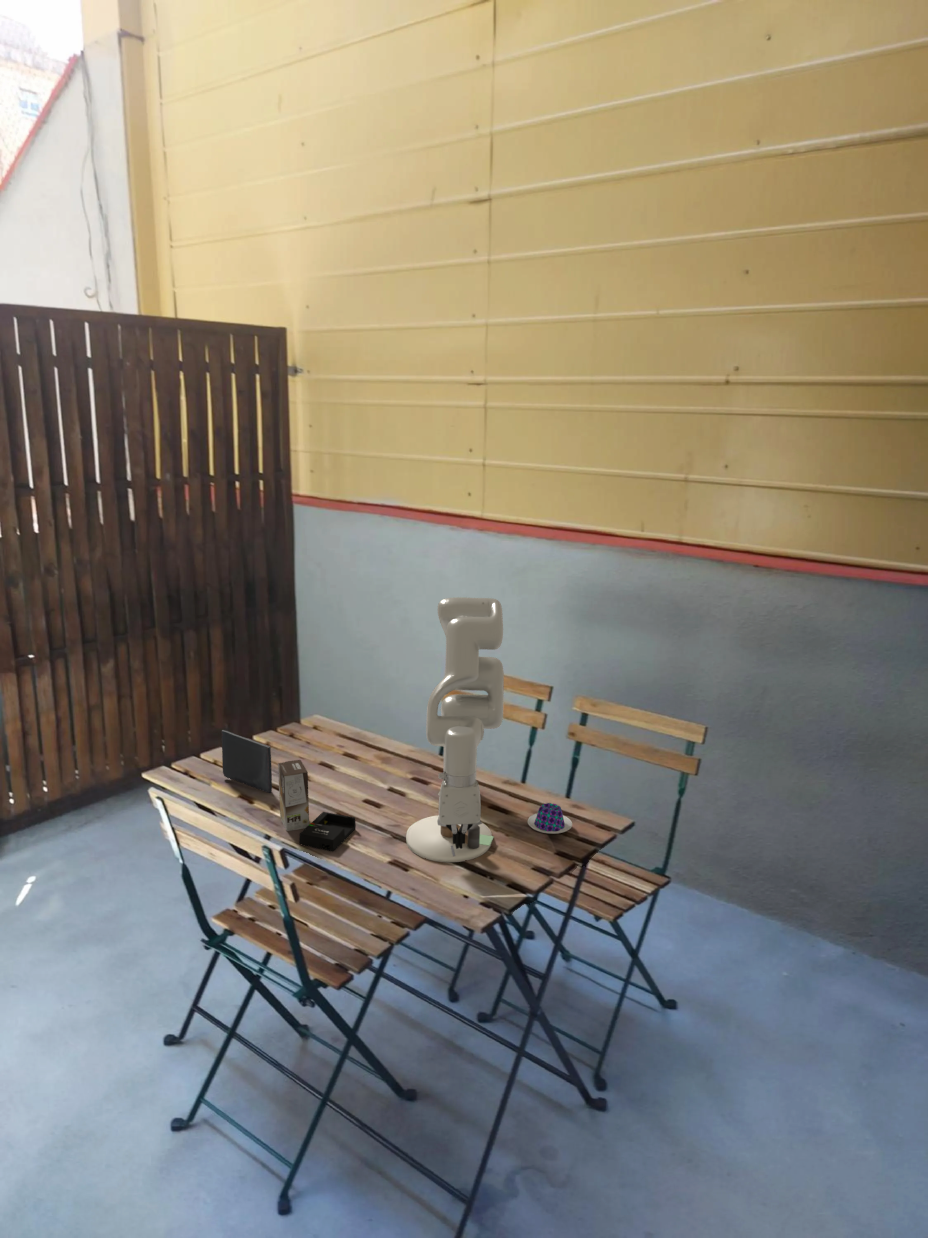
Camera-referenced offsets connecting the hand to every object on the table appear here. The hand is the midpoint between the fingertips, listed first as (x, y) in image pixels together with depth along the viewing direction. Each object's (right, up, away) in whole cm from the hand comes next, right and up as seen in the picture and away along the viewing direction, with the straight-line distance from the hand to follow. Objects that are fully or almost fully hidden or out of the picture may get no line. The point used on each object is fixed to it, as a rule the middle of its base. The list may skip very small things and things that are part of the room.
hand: (458, 845), depth 205 cm
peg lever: (0, 0, +5) cm, 5 cm away
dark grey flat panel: (-62, +7, +38) cm, 73 cm away
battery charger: (-34, -1, +9) cm, 35 cm away
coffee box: (-44, +1, +16) cm, 47 cm away
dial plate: (-3, -1, +9) cm, 9 cm away
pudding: (+24, 0, +18) cm, 31 cm away
